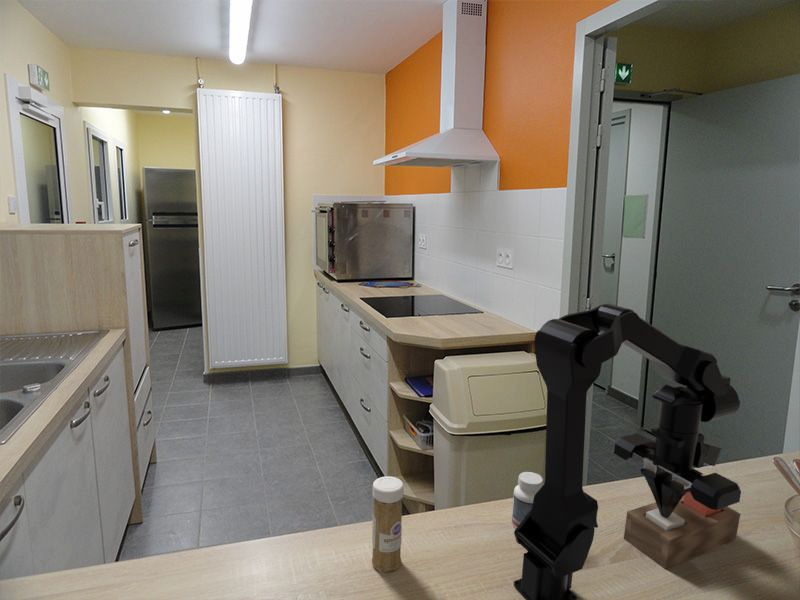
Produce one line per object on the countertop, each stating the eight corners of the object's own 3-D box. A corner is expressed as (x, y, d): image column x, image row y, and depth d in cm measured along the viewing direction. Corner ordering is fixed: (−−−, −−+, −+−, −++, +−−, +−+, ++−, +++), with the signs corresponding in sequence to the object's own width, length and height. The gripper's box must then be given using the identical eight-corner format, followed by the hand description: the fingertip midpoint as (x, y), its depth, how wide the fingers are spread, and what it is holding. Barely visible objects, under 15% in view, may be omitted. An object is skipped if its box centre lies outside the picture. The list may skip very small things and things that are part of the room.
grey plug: (663, 554, 86) (667, 526, 85) (642, 539, 90) (646, 512, 89) (680, 547, 88) (684, 519, 87) (659, 533, 91) (663, 506, 90)
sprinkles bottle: (391, 577, 80) (393, 494, 78) (365, 566, 83) (366, 485, 80) (406, 559, 84) (409, 480, 81) (381, 549, 86) (383, 471, 84)
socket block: (665, 569, 84) (669, 540, 83) (623, 538, 91) (627, 511, 90) (735, 540, 91) (740, 513, 90) (692, 514, 98) (696, 489, 97)
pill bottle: (543, 536, 91) (547, 488, 89) (511, 532, 92) (515, 484, 90) (541, 518, 96) (546, 471, 94) (511, 513, 97) (514, 468, 95)
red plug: (704, 518, 89) (709, 490, 88) (682, 505, 93) (686, 478, 92) (720, 512, 91) (725, 485, 90) (698, 500, 95) (702, 473, 93)
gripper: (772, 442, 80) (754, 537, 83) (662, 396, 96) (651, 477, 99) (723, 457, 75) (706, 557, 78) (616, 406, 91) (606, 490, 95)
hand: (665, 516), depth 88 cm, fingers closed, pressing on grey plug
